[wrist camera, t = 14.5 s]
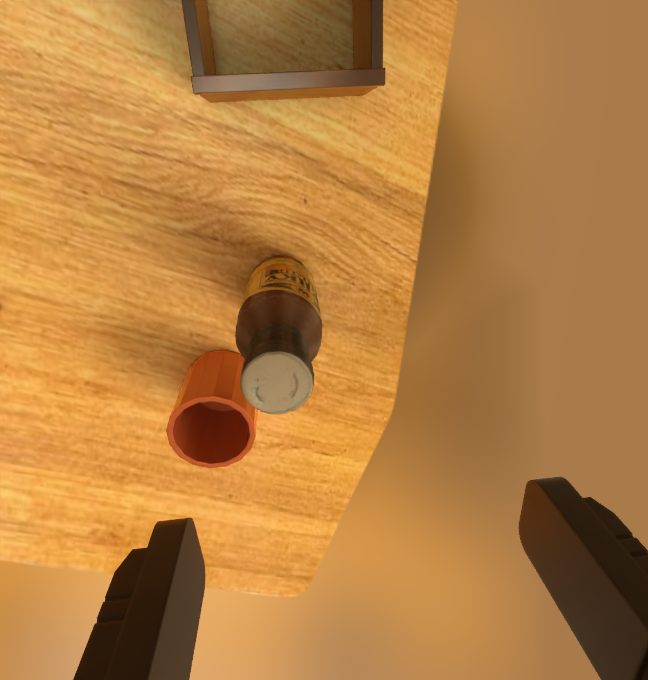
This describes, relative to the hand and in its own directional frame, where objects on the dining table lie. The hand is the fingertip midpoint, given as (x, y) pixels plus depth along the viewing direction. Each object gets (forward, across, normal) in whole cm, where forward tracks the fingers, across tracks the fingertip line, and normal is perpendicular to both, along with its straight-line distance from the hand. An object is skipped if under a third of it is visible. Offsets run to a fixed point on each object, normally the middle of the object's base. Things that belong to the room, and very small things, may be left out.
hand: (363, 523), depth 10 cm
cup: (+32, +10, +14) cm, 37 cm away
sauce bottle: (+33, +2, +4) cm, 33 cm away
